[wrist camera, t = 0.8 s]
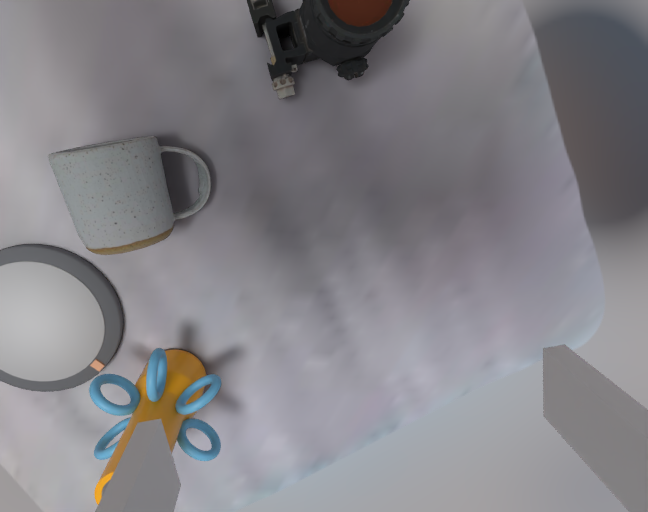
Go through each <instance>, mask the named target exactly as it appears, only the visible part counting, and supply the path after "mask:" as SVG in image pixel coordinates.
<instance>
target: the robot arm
mask: <svg viewBox="0 0 648 512" xmlns="http://www.w3.org/2000/svg"><path fill="white" fill-rule="evenodd" d="M543 392H544V393H543V397H544V398H543V399H544V417H545V418H546V419H547V420H548V422H549V423H550V424H551V425H552V426H553V427H554V428H555V429H556V430H557V432H558V433H559V434H560V435H561V436H562V437H563V438H564V439H565V441H566V442H567V443H568V444H569V445H570V446H571V447H572V448H573V449H574V451H575V452H576V453H577V454H578V455H579V456H580V457H581V458H582V460H583V461H584V462H585V463H586V464H587V465H588V466H589V467H590V469H591V470H592V471H593V472H594V473H595V474H596V475H597V476H598V478H599V479H600V480H601V481H602V482H603V483H604V484H605V485H606V486H607V488H608V489H609V490H610V491H611V492H612V493H613V494H614V495H615V497H616V498H617V499H618V500H619V501H620V502H621V503H622V504H623V505H624V507H625V508H626V509H627V510H628V511H629V512H648V410H647V409H646V408H645V407H643V406H642V405H641V404H640V403H638V402H637V401H636V400H634V399H633V398H632V397H631V396H629V395H628V394H627V393H626V392H624V391H623V390H622V389H621V388H619V387H618V386H617V385H615V384H614V383H613V382H612V381H610V380H609V379H608V378H606V377H605V376H604V375H603V374H601V373H600V372H599V371H598V370H596V369H595V368H594V367H592V366H591V365H590V364H588V363H587V362H586V361H585V360H583V359H582V358H581V357H580V356H578V355H577V354H576V353H575V352H573V351H572V350H571V349H569V348H568V347H567V346H566V345H560V346H554V347H549V348H543ZM180 487H181V483H180V480H179V477H178V474H177V470H176V467H175V464H174V460H173V457H172V454H171V450H170V447H169V444H168V440H167V437H166V434H165V431H164V427H163V424H162V421H161V419H156V420H150V421H145V422H140V423H137V425H136V427H135V430H134V432H133V434H132V436H131V438H130V440H129V442H128V444H127V446H126V448H125V450H124V452H123V455H122V457H121V459H120V461H119V463H118V465H117V467H116V469H115V471H114V473H113V475H112V477H111V480H110V482H109V484H108V486H107V488H106V490H105V492H104V494H103V496H102V498H101V500H100V502H99V505H98V507H97V509H96V511H95V512H174V508H175V505H176V501H177V497H178V494H179V490H180Z"/></svg>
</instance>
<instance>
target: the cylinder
mask: <svg viewBox="0 0 648 512" xmlns="http://www.w3.org/2000/svg"><path fill="white" fill-rule="evenodd" d="M106 383H110V384H115V385H118V386H120V387H122V388H123V389H124V390H126V391H127V393H128V394H129V396H130V398H131V402H130V404H128V405H123V406H122V405H116V404H113V403H111V402H110V401H108V400H107V399H106V398H105V397H104V396H103V395H102V393H101V391H100V387H101V385H103V384H106ZM208 384H211V386H210V388H209V389H208V390H207V391H206V392H205V393H204V394H203V391H204V388H205V386H206V385H208ZM220 387H221V379H220V377H219V376H218V375H215V374H211V375H207V376H206V371H205V368H204V366H203V364H202V363H201V361H200V360H199V359H198V358H197V357H196V356H194V355H193V354H191V353H189V352H187V351H183V350H177V349H172V350H166V351H164V350H163V349H161V348H157V349H155V350H154V351H153V353H152V355H151V357H150V360H149V361H148V363H147V364H146V366H145V368H144V370H143V371H142V373H141V375H140V377H139V379H138V380H137V382H136V384H135V385H134V384H133V383H132V382H130V381H129V380H127V379H126V378H124V377H121V376H119V375H115V374H104V375H100V376H98V377H96V378H95V379H94V380H93V381H92V383H91V385H90V389H89V392H90V396H91V399H92V400H93V402H94V403H95V404H96V405H97V406H98V407H99V408H100V409H102V410H103V411H105V412H107V413H109V414H113V415H118V416H124V415H129V414H131V413H133V414H132V416H131V417H130V418H127V419H125V420H123V421H121V422H119V423H118V424H116V425H115V426H114V427H113V428H111V429H110V430H109V431H108V432H107V433H106V434H105V435H104V436H103V437H102V438H101V439H100V441H99V442H98V444H97V445H96V447H95V450H94V455H95V457H96V458H97V459H99V460H104V459H107V458H110V457H111V458H110V460H109V462H108V464H107V466H106V468H105V470H104V472H103V474H102V476H101V478H100V480H99V482H98V484H97V486H96V488H95V500H96V502H97V504H98V505H99V502H100V500H101V498H102V496H103V494H104V492H105V490H106V488H107V486H108V484H109V482H110V480H111V477H112V475H113V473H114V471H115V469H116V467H117V465H118V463H119V461H120V459H121V457H122V455H123V452H124V450H125V448H126V446H127V444H128V442H129V440H130V438H131V436H132V434H133V432H134V430H135V427H136V425H137V423H140V422H145V421H150V420H156V419H161V421H162V424H163V427H164V431H165V434H166V437H167V440H168V444H169V447H170V450H171V454H172V452H173V449H174V446H175V443H176V440H177V441H178V443H179V445H180V447H181V448H182V449H183V451H184V452H185V453H187V454H188V455H189V456H191V457H192V458H194V459H197V460H200V461H209V460H212V459H214V458H215V457H216V456H217V455H218V454H219V452H220V448H221V443H220V439H219V437H218V435H217V433H216V432H215V430H214V429H213V428H212V427H211V426H210V425H208V424H207V423H205V422H203V421H201V420H198V419H191V418H192V417H193V416H194V415H195V413H196V412H197V410H199V409H201V408H202V407H204V406H205V405H206V404H207V403H209V402H210V401H211V400H212V399H213V398H214V396H215V395H216V394H217V393H218V391H219V389H220ZM188 428H196V429H199V430H200V431H202V432H203V433H205V434H206V435H207V436H208V438H209V439H210V441H211V444H212V448H211V450H209V451H203V450H200V449H198V448H196V447H194V446H193V445H192V444H191V443H190V442H189V440H188V439H187V436H186V430H187V429H188ZM123 430H124V432H123V434H122V436H121V438H120V440H119V441H118V442H116V443H115V444H114V445H112V446H110V447H109V448H107V449H105V448H106V446H107V445H108V444H109V442H110V441H111V440H112V439H113V438H114V437H115V436H116V435H118V434H119V433H120V432H122V431H123Z"/></svg>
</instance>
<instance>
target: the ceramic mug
mask: <svg viewBox="0 0 648 512" xmlns="http://www.w3.org/2000/svg"><path fill="white" fill-rule="evenodd" d="M164 151H171V152H177V153H182V154H185V155H187V156H189V157H190V158H192V159H193V160H194V161H195V163H196V165H197V167H198V174H199V184H200V186H199V189H198V191H199V193H200V197H199V199H198V200H197V201H196V202H195V204H194V205H192V206H191V207H188V208H187V209H185V210H183V211H180V212H176V213H173V209H172V205H171V201H170V197H169V191H168V189H167V184H166V178H165V173H164V168H163V164H162V159H161V153H162V152H164ZM48 158H49V162H50V164H51V167H52V169H53V172H54V174H55V176H56V178H57V182H58V184H59V187H60V189H61V192H62V194H63V197H64V199H65V202H66V204H67V207H68V209H69V212H70V214H71V217H72V220H73V222H74V225H75V228H76V230H77V233H78V235H79V237H80V238H81V240H82V242H83V243H84V245H85V246H86V248H87V249H88V250H89V251H91V252H93V253H96V254H101V255H111V254H119V253H125V252H129V251H133V250H137V249H141V248H144V247H147V246H150V245H153V244H155V243H158V242H160V241H162V240H164V239H165V238H167V237H168V236H169V235H170V233H171V232H172V230H173V227H174V221H175V220H176V219H182V218H186V217H188V216H190V215H193V214H194V213H196V212H197V211H199V210H200V209H201V208H202V207H203V206H204V204H205V203H206V202H207V200H208V197H209V195H210V190H211V178H210V173H209V170H208V167H207V165H206V164H205V163H204V161H203V160H202V159H201V158H200V157H199V156H197V155H196V154H195V153H193V152H191V151H189V150H186V149H183V148H179V147H171V146H159V145H158V141H157V138H156V137H154V136H150V137H140V138H134V139H127V140H119V141H113V142H106V143H101V144H95V145H89V146H84V147H77V148H73V149H68V150H64V151H59V152H55V153H51V154H49V157H48Z"/></svg>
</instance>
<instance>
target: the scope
mask: <svg viewBox="0 0 648 512" xmlns="http://www.w3.org/2000/svg"><path fill="white" fill-rule="evenodd" d="M409 1H410V0H303V3H302V5H301V8H300V9H297V10H295V11H291V12H287V13H285V14H283V15H282V16H280V17H278V18H276V14H275V10H274V7H273V3H272V0H247V3H248V6H249V9H250V14H251V17H252V20H253V23H254V27H255V30H256V33H257V36H258V37H261V35H262V33H263V32H264V33H265V36H266V40H267V43H268V46H269V50H270V53H271V56H272V57H271V62H272V65H271V64H269V63H267V65H268V69H269V72H270V76H271V79H272V81H273V83H272V87H273V90H274V91H276V90H277V94H278V97H279V99H283V98H287V97H290V96H293V95H295V92H294V89H293V85H294V84H295V82H294V79H293V77H290V76H291V72H292V73H293V72H296V71H297V65H298V64H302V63H303V62H304V63H305V62H309V61H312V60H316V59H319V58H321V59H322V60H324V61H326V62H328V63H329V64H331V65H333V66H336V65H339V64H341V65H339V66H338V68H337V71H338V76H340V77H344V78H345V79H347V80H351V79H352V78H354V75H355V77H356V78H357V77H360V76H362V75H363V74H364V70H366V69H367V68H368V64H367V59H365V58H362V57H364V56H366V55H367V54H368V53H369V52H370V51H371V49H372V47H373V46H374V44H375V43H376V42H377V41H378V40H379V39H380V38H381V37H382V36H385V35H386V34H387V33H389V32H390V31H391V30H392V29H393V25H394V24H395V25H396V24H397V23H398V22H399V21H400V20H401V19H402V17H403V15H404V13H403V11H404V9H405V7H406V6H407V5H408V4H409ZM285 36H290V37H291V40H292V44H293V47H294V48H293V49H290V50H286V51H284V50H282V48H281V44H280V41H279V39H280V38H283V37H285Z"/></svg>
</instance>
